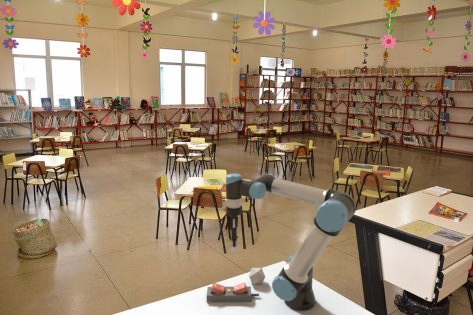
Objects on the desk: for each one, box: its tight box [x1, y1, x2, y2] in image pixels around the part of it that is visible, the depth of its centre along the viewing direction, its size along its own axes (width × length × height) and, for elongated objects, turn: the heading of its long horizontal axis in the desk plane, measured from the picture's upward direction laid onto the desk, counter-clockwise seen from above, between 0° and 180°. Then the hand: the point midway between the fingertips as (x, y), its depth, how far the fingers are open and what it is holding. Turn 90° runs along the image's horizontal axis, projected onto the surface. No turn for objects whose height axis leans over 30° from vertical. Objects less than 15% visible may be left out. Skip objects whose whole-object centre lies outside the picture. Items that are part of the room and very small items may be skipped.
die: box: [248, 267, 266, 285], centre depth 199 cm, size 8×9×10 cm
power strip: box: [206, 285, 260, 303], centre depth 186 cm, size 26×8×4 cm, turn 90°
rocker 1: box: [211, 282, 226, 294], centre depth 186 cm, size 6×4×2 cm
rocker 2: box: [233, 282, 247, 294], centre depth 186 cm, size 6×4×2 cm
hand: (234, 251), depth 182 cm, fingers closed
